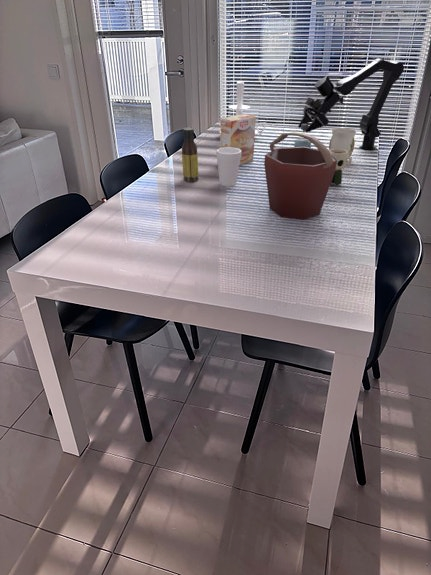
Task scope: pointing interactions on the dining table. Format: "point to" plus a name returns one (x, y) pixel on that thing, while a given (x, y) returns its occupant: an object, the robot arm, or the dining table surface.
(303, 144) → the tiered round stand
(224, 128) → the coffeecake box
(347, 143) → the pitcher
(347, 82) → the robot arm
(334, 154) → the character mug
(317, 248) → the dining table surface
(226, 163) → the foam cup
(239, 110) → the candlestick
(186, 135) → the sauce bottle
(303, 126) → the knob
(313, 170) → the bucket
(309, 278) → the dining table surface
